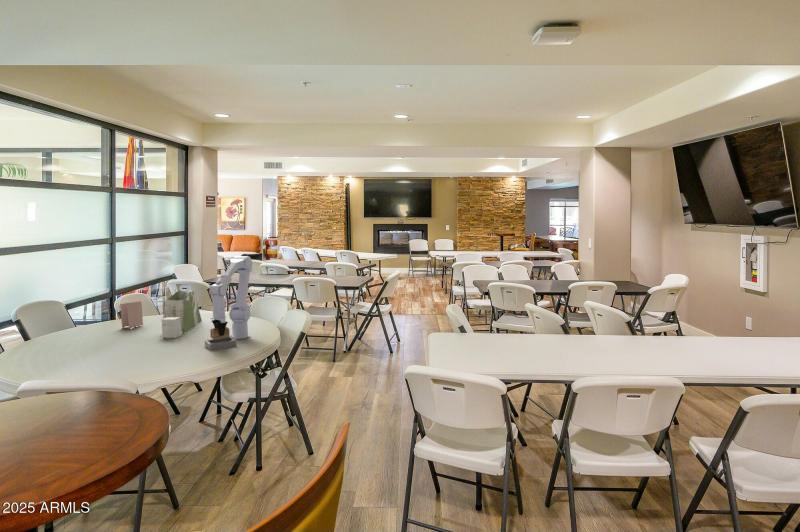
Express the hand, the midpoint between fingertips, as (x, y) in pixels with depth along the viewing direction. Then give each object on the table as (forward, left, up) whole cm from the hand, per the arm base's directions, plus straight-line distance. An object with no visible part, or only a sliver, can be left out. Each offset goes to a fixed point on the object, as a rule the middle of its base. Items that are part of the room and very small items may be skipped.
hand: (220, 334), depth 247 cm
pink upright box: (-76, -30, -6) cm, 82 cm away
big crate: (0, 0, -6) cm, 6 cm away
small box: (-37, -16, -6) cm, 41 cm away
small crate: (0, 0, -1) cm, 1 cm away
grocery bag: (-59, -6, -6) cm, 60 cm away
